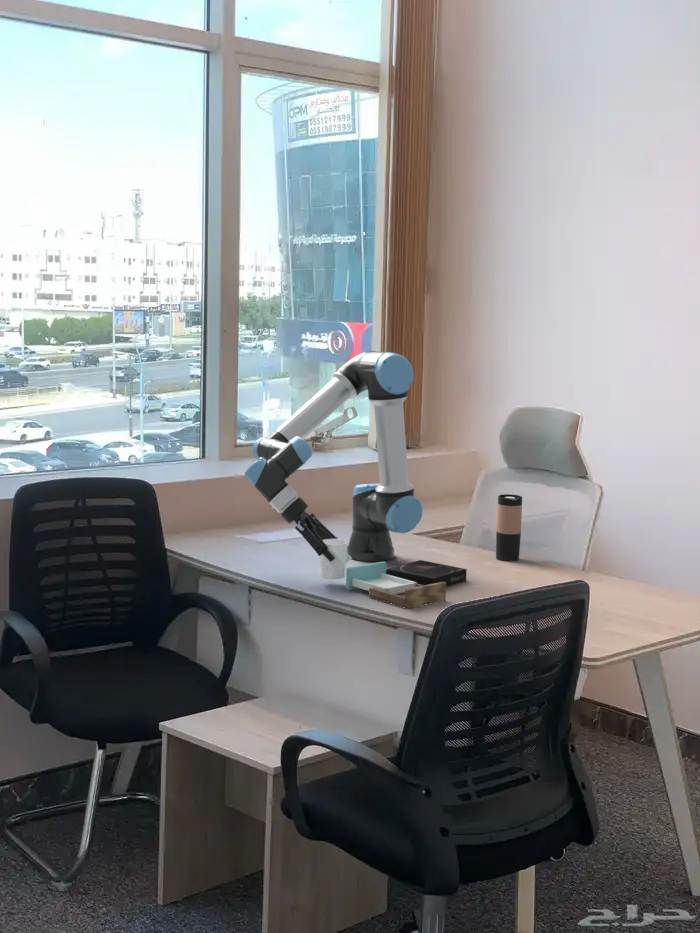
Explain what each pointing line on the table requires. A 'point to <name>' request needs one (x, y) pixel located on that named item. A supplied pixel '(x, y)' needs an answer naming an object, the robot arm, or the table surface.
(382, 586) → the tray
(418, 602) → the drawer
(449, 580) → the portable cd player
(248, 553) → the table surface
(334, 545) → the white cup
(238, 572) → the table surface
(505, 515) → the travel mug
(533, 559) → the table surface
